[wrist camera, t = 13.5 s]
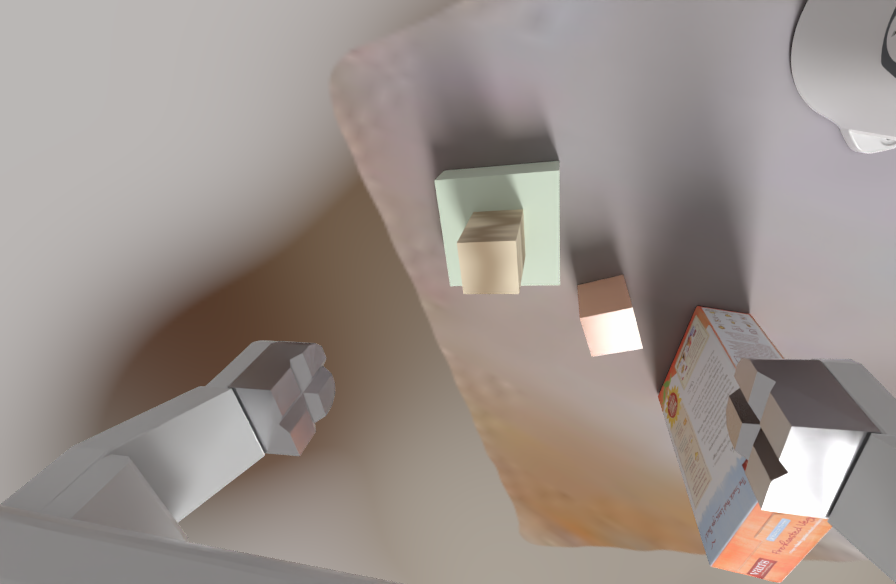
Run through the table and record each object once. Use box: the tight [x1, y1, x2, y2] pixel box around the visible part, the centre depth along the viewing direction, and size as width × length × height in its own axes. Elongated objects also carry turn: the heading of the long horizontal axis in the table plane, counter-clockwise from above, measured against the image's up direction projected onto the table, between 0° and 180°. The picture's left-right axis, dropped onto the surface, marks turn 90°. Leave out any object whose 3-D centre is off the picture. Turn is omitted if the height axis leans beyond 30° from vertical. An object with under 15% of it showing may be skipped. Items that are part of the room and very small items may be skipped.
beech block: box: [457, 209, 526, 294], centre depth 39 cm, size 5×5×8 cm
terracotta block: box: [577, 275, 643, 357], centre depth 44 cm, size 5×5×7 cm
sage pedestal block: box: [434, 161, 560, 286], centre depth 44 cm, size 12×12×4 cm
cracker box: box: [658, 306, 832, 583], centre depth 39 cm, size 14×6×21 cm, turn 177°
